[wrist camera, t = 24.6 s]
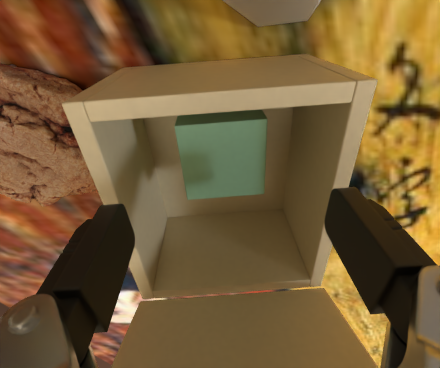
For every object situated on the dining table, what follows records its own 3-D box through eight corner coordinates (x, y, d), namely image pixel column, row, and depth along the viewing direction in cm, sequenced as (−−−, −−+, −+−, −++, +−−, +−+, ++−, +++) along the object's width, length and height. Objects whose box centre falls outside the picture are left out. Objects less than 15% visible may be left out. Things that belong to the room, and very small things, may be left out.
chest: (121, 67, 15) (59, 103, 9) (307, 53, 15) (379, 79, 9) (161, 218, 22) (142, 299, 16) (288, 209, 22) (321, 286, 16)
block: (182, 100, 16) (174, 126, 12) (253, 94, 16) (267, 118, 12) (191, 162, 18) (187, 200, 15) (252, 157, 18) (264, 194, 15)
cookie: (-56, 143, 18) (-100, 164, 15) (0, 18, 14) (-46, 18, 11) (75, 215, 22) (58, 241, 19) (147, 135, 18) (137, 154, 15)
